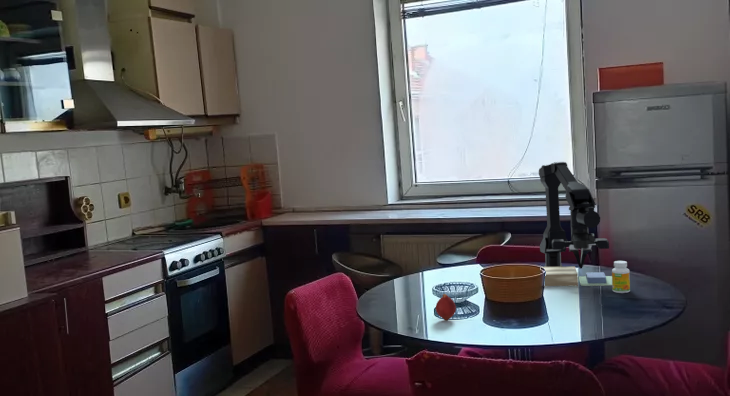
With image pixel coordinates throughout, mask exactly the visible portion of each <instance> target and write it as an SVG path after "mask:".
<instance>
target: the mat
mask: <svg viewBox="0 0 730 396" xmlns="http://www.w3.org/2000/svg"><path fill="white" fill-rule="evenodd" d="M605 276H606V283H588V282H587V279H586V275H585V276H580V275H579V276H578V281H579V283H580V286H582V287H588V286H589V287H593V286H594V287H595V286H597V287H599V286H602V287H603V286H604V287H607V286H610V287H612V275H605Z"/></svg>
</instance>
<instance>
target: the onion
mask: <svg viewBox="0 0 730 396" xmlns="http://www.w3.org/2000/svg"><path fill="white" fill-rule="evenodd" d="M435 311H436V314H437V315H438V316H439V317H440V318H442V319H443V320H444V321H448V320H450V319H451V318H452V317H453V316H454V315H455V314H456V311H457V306H456V303H455V302H454V300H453V299H452V297H450V296H449V295H447V294H446V293H443V294H442V297H440V299H438V301H437V302H436V305H435Z"/></svg>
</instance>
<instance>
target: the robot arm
mask: <svg viewBox="0 0 730 396" xmlns="http://www.w3.org/2000/svg"><path fill="white" fill-rule="evenodd" d="M538 176H539V179H540V180H539V181H540V183H541V184H542V185H543V187H544V190H545V205H546V210H545V211H546V223H547V224H546V228H545V230H543V231H544V232H543V234H542V235H543V236H542V237H543V238H542V240H541V242H540V245H539V252H541V253H543V254H545V255H544V256H545V264H544V267H563V264H562V255H561V254H562V253H566V251H567V247H568V250H569V251H568V252H570V253H571V252H572V253H573V256H574V258H575V260H576V262H577V265H578V267H579V269H583V267H584V263H585V260H586V258H587V255H588V253H589V252H592V251H593V250H592V247H597V248H599V249H600V250H605V249H609V250H610V242H609V240H608V238H605V237H603V238H600V237H599V238H595V233H589V228H591V229H594V228H596V227H597V226H599V224H600V222H601V217H600V214H599V213H598V212H597V211H595V208H596V205H595V204H596V202H595V200H594V198H593V196H592V193H591V191H590V189H589V188H588V187H587V186H586V185H585V184H583V183H580V182H579V181H578V180H577V178H576V177H575V176H574V174H573V173H572V172H571V170H570V169H569V167H568V163H567V162H566V161H557V162H556V161H555V162H552V163H550V164H544V165H543V164H542V165H541V167H540V168H539V169H538ZM561 185H562V188H564V190H565V200H566V202H567V204H568V206H569V207H568V210H569V211H570V239H571V240H570V241H568V239H567V237H566V235H567V233H566V231H565V230H564V229H563V228H562V226H561V215H560V195H559V194H560V193H559V187H560V186H561ZM579 249H581V251H579ZM579 252H580V253H581V254H580V253H579Z"/></svg>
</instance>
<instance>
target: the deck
mask: <svg viewBox="0 0 730 396" xmlns="http://www.w3.org/2000/svg"><path fill="white" fill-rule="evenodd" d="M541 267H542V268H544V269H545V271H546V276H545V286H544V287H578V283H579V282H578V281H579V278H578V272H577V268H576V266H562V267H545V266H541Z"/></svg>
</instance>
